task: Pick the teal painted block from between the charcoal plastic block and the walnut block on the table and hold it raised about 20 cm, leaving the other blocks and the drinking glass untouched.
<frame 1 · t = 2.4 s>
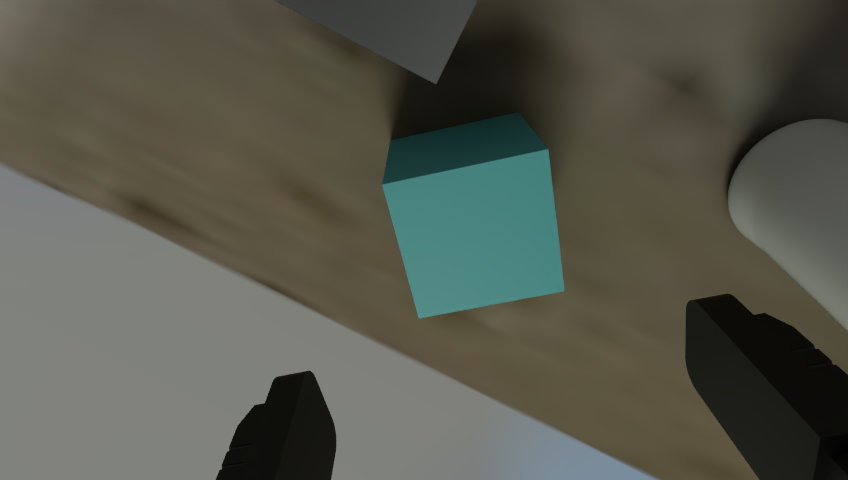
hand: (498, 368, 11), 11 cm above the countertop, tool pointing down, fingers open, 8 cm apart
drinking glass: (784, 179, 21), on the countertop
teal block: (465, 185, 21), on the countertop
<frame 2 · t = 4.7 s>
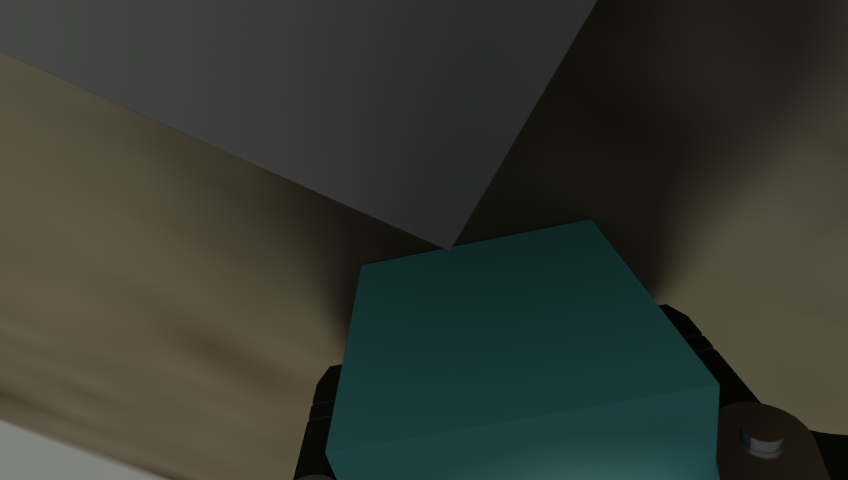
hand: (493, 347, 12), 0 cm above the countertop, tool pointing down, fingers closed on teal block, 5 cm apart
teal block: (492, 334, 12), on the countertop, touching gripper
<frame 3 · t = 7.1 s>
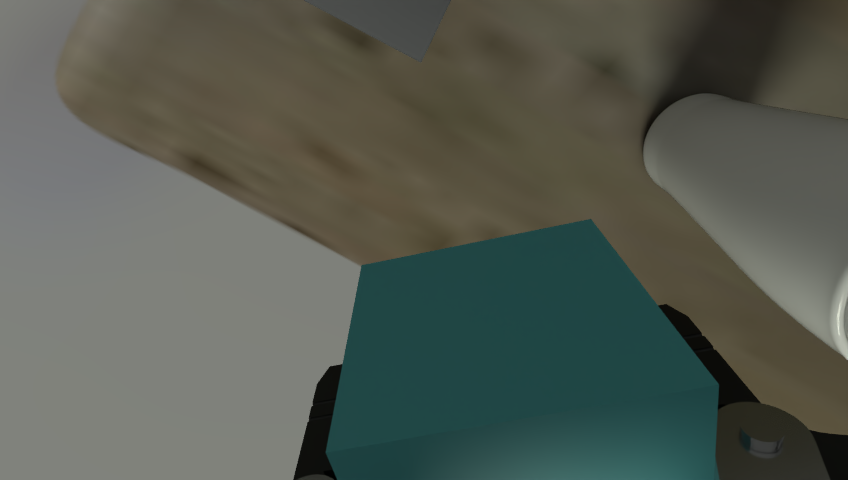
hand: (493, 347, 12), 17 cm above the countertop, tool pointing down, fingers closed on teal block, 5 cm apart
drinking glass: (686, 140, 27), on the countertop
teal block: (492, 334, 12), point 17 cm above the countertop, touching gripper
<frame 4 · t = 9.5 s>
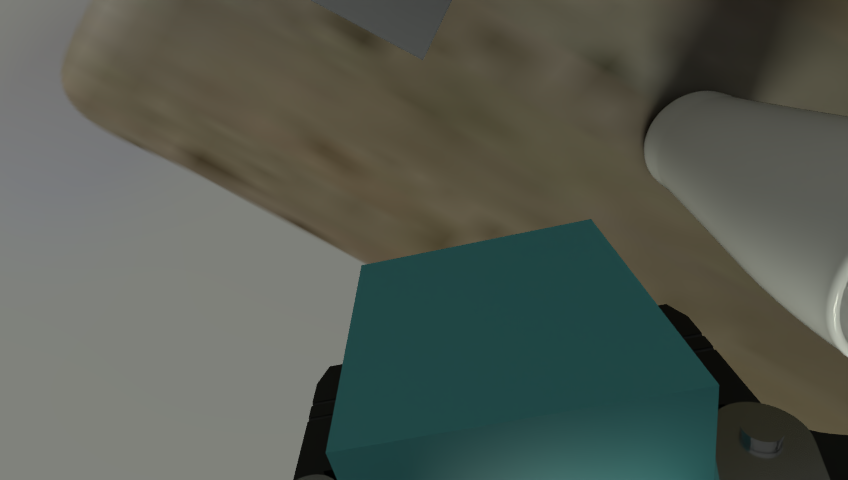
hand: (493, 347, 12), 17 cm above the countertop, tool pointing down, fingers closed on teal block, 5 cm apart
drinking glass: (687, 138, 27), on the countertop
teal block: (492, 335, 12), point 17 cm above the countertop, touching gripper
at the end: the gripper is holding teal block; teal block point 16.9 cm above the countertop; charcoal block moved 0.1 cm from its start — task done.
